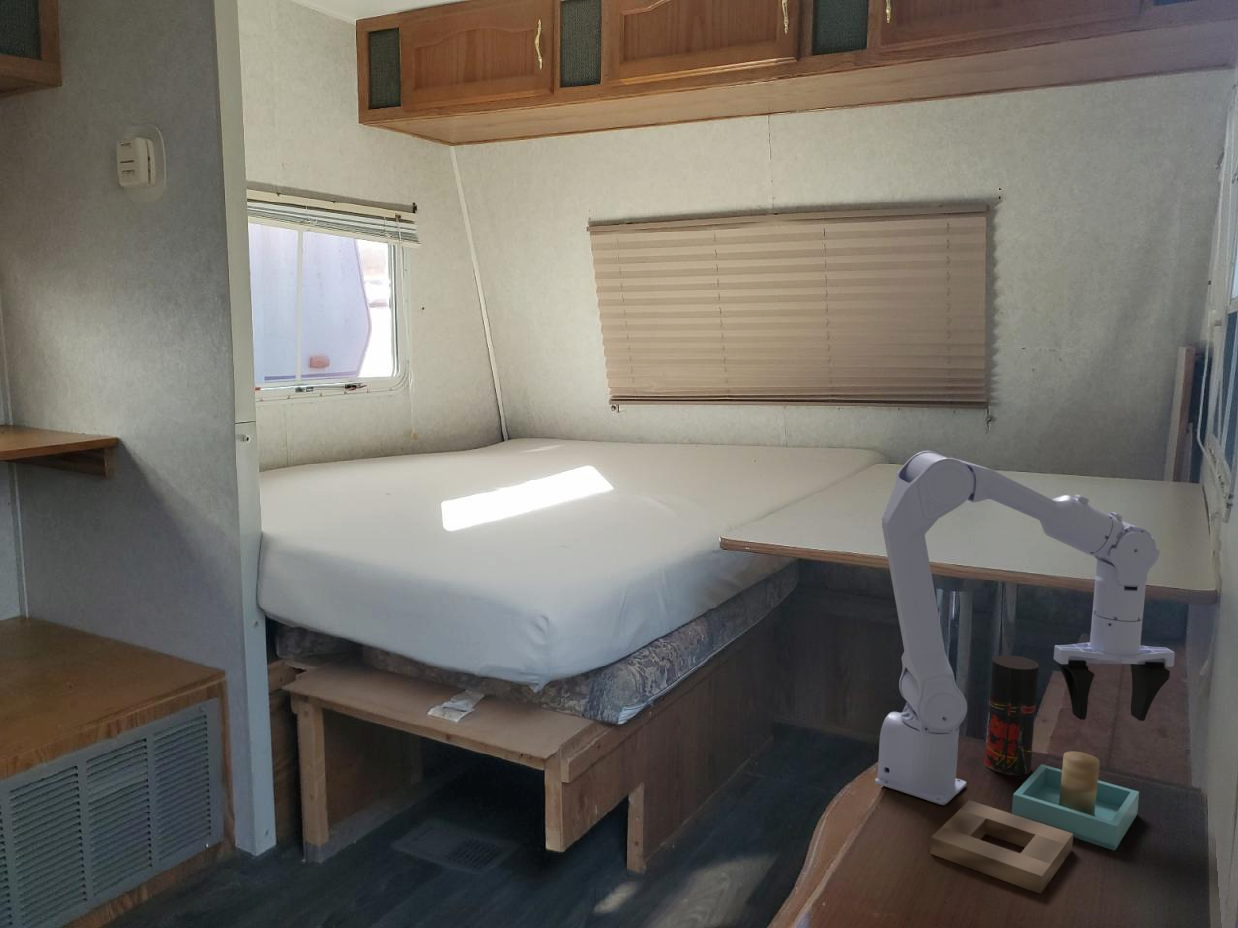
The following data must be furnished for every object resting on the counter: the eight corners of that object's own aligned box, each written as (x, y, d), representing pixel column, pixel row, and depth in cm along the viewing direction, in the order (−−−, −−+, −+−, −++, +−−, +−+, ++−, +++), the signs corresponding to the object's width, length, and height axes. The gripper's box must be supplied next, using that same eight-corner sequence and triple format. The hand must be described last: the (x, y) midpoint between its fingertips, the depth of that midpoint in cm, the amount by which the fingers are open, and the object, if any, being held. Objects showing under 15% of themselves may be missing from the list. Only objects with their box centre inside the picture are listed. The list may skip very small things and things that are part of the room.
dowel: (1066, 818, 115) (1071, 764, 114) (1053, 803, 119) (1058, 750, 118) (1099, 820, 114) (1105, 766, 114) (1086, 805, 118) (1091, 752, 118)
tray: (1011, 817, 116) (1013, 794, 116) (1039, 785, 125) (1041, 763, 125) (1114, 850, 109) (1116, 826, 108) (1137, 814, 118) (1139, 791, 117)
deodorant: (978, 756, 134) (985, 654, 132) (1020, 757, 134) (1028, 655, 132) (993, 774, 128) (1001, 668, 126) (1037, 776, 128) (1046, 669, 126)
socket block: (930, 853, 107) (931, 836, 107) (968, 815, 116) (969, 800, 116) (1040, 893, 100) (1042, 876, 99) (1071, 849, 109) (1073, 833, 109)
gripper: (1075, 623, 116) (1067, 728, 118) (1192, 625, 116) (1182, 730, 118) (1049, 607, 123) (1042, 707, 125) (1160, 609, 123) (1151, 709, 125)
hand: (1108, 717), depth 122 cm, fingers open, 7 cm apart
